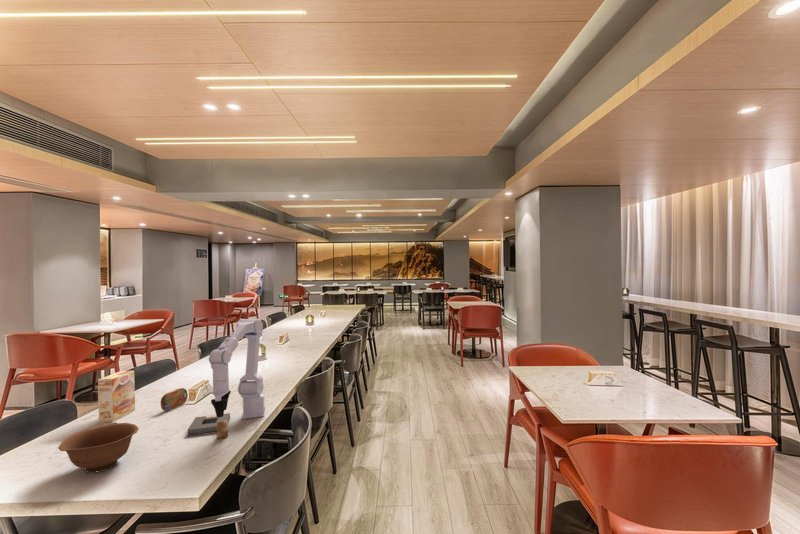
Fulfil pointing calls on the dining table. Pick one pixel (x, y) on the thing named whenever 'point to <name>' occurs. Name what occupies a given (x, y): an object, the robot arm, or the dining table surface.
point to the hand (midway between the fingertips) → (221, 413)
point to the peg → (222, 429)
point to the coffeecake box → (116, 396)
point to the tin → (174, 399)
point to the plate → (206, 424)
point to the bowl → (99, 446)
